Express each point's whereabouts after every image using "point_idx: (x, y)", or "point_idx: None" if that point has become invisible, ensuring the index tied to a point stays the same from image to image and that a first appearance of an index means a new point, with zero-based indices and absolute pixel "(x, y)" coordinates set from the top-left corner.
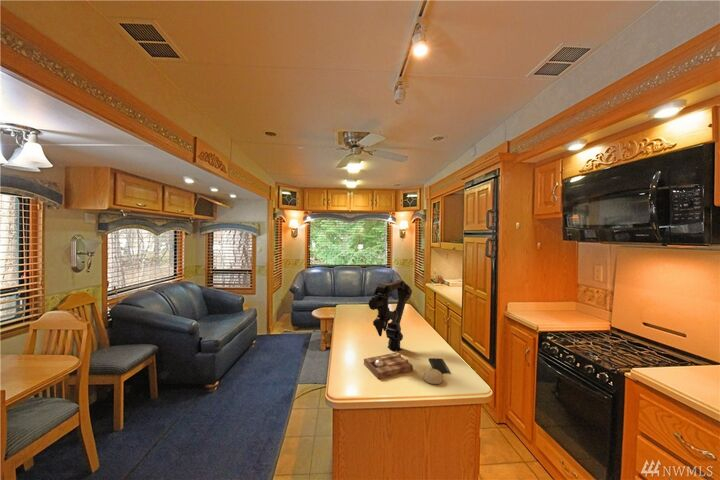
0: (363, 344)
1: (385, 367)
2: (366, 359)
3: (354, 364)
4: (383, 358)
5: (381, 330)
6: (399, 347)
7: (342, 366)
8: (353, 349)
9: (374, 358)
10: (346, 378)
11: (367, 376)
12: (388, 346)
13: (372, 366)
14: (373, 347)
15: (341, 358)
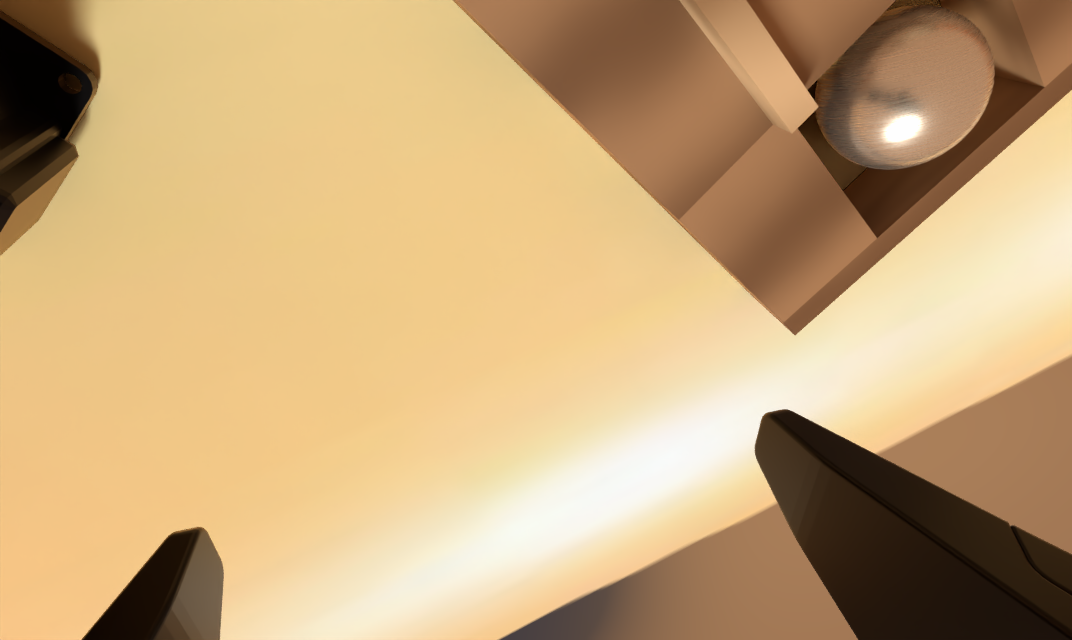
0: None
1: None
2: (806, 302)
3: (771, 372)
4: (794, 78)
5: (1060, 564)
6: None
7: None
8: (434, 547)
9: (759, 224)
10: (1026, 302)
11: None
12: (33, 222)
13: (990, 151)
14: (208, 422)
15: (680, 514)
